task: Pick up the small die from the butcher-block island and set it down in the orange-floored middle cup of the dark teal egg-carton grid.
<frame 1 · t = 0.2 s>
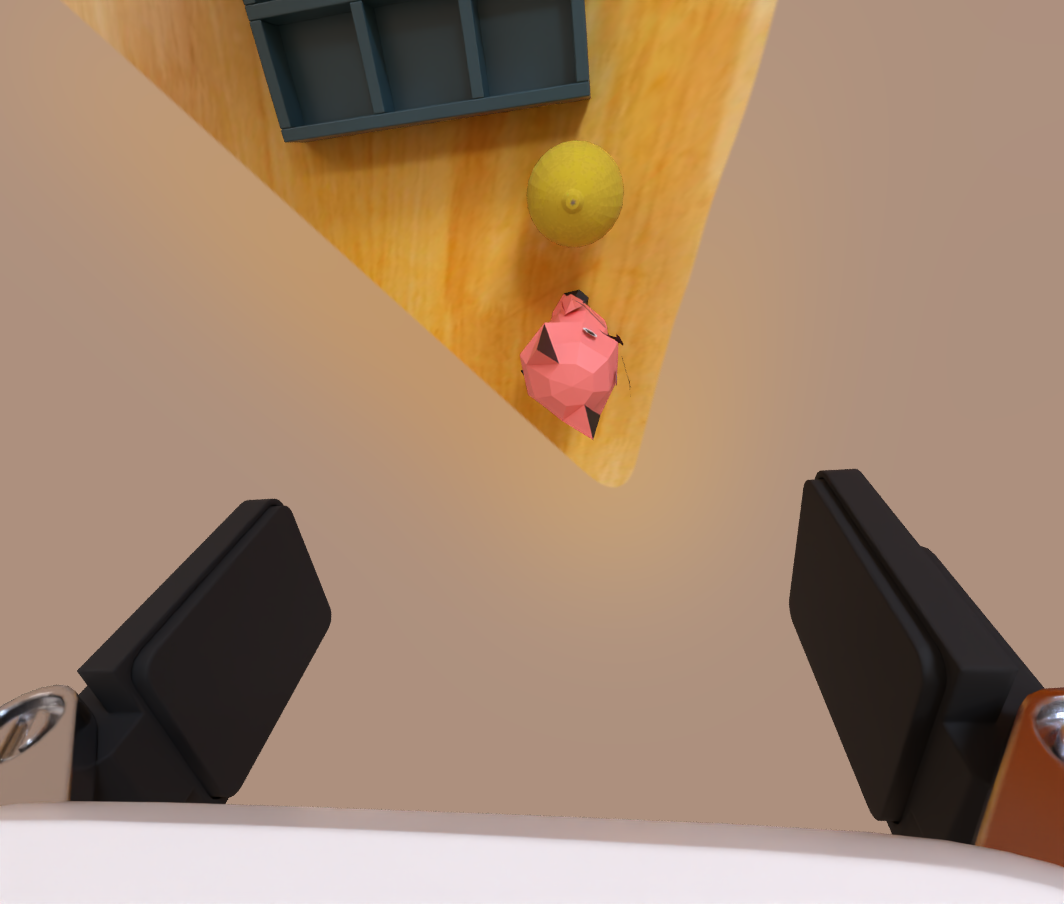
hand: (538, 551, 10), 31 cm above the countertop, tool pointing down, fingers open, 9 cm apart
lemon: (577, 189, 36), on the countertop
cat figurine: (573, 328, 40), on the countertop
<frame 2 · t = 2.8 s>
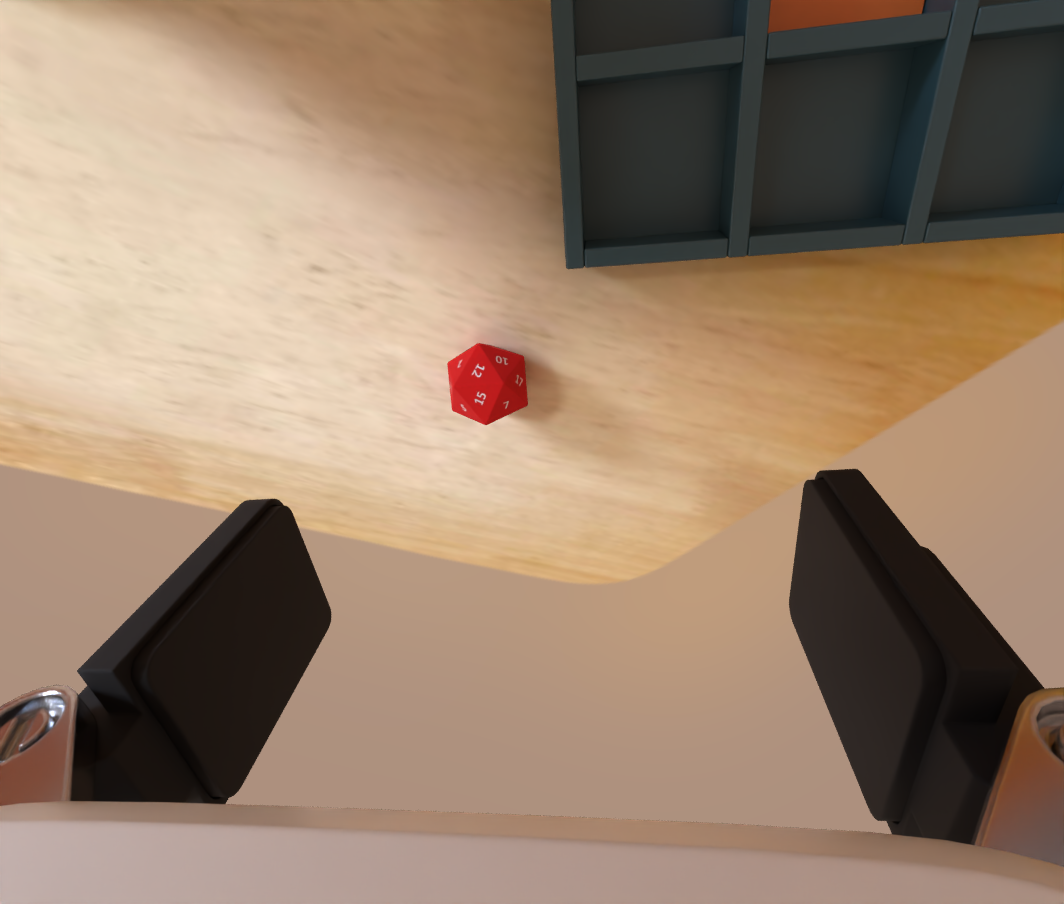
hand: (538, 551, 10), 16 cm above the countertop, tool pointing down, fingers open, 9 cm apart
die: (493, 368, 26), on the countertop
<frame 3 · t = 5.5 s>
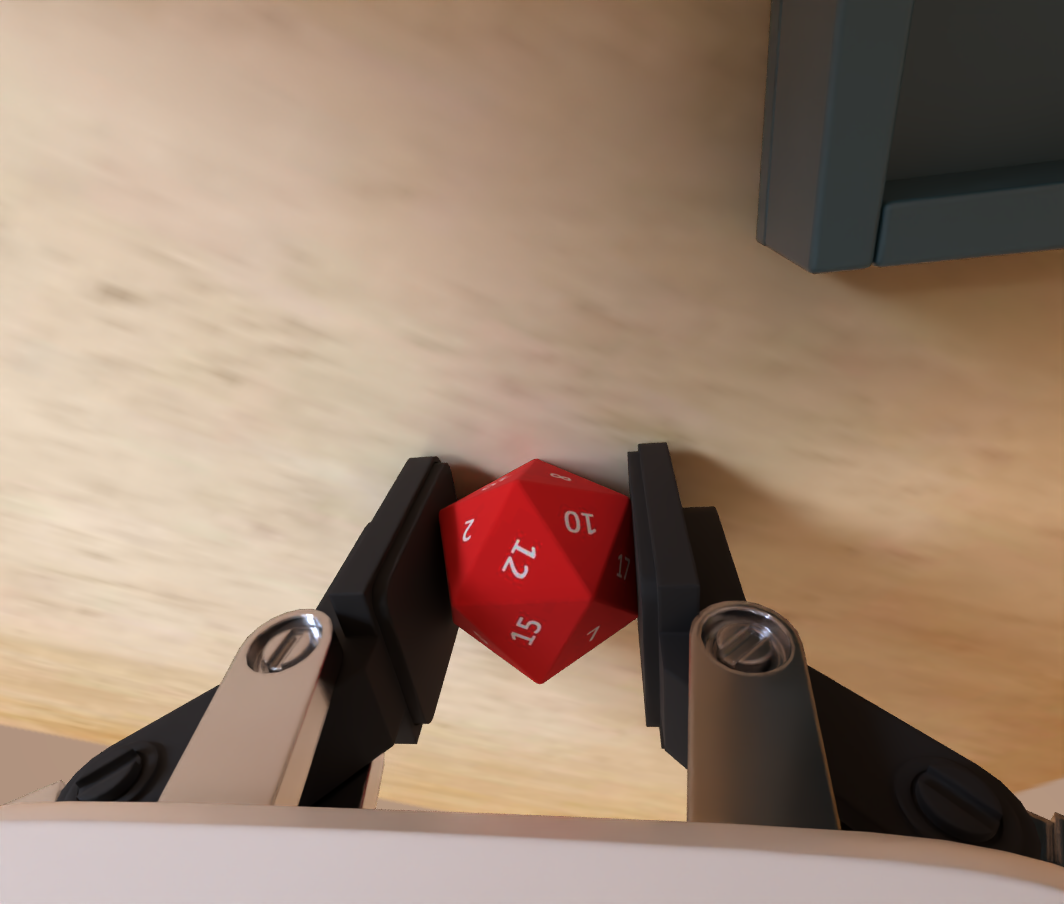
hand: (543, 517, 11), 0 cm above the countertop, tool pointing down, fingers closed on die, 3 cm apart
die: (545, 504, 12), on the countertop, touching gripper
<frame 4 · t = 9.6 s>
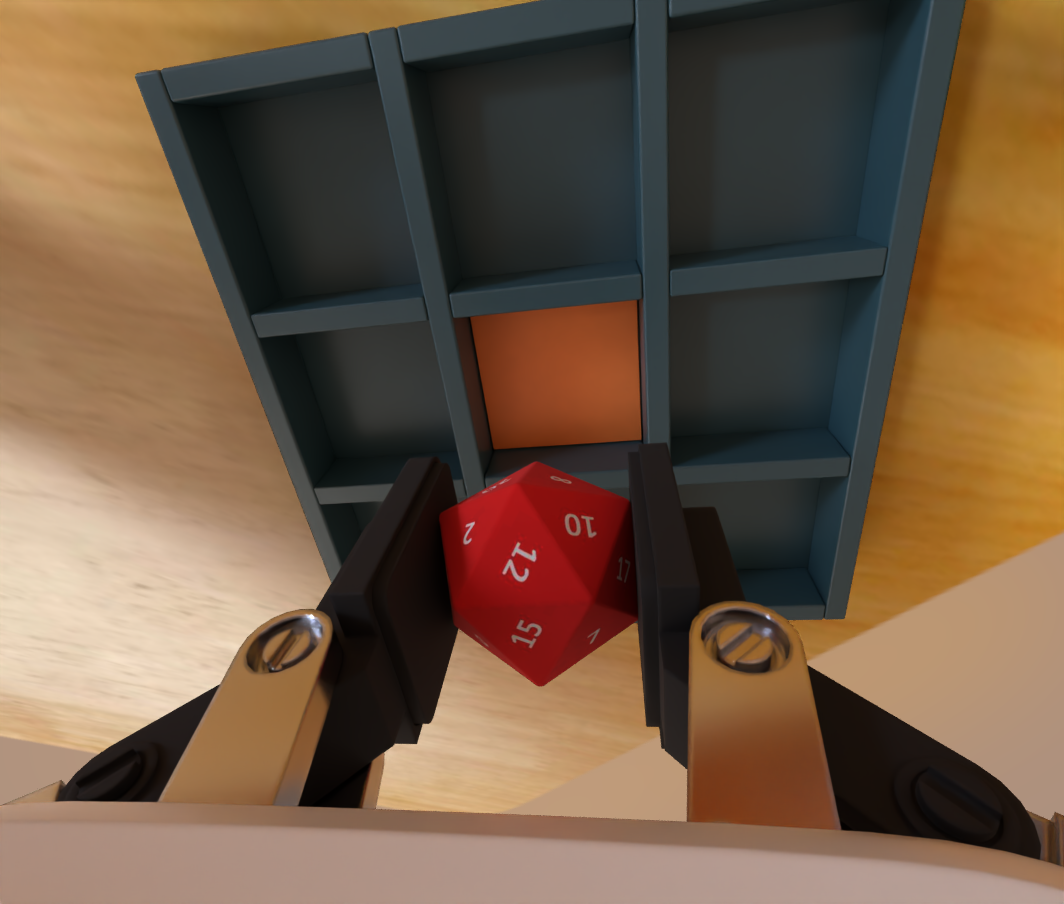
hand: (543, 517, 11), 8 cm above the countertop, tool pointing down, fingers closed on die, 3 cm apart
grid: (559, 367, 18), on the countertop
die: (546, 507, 12), point 8 cm above the countertop, touching gripper
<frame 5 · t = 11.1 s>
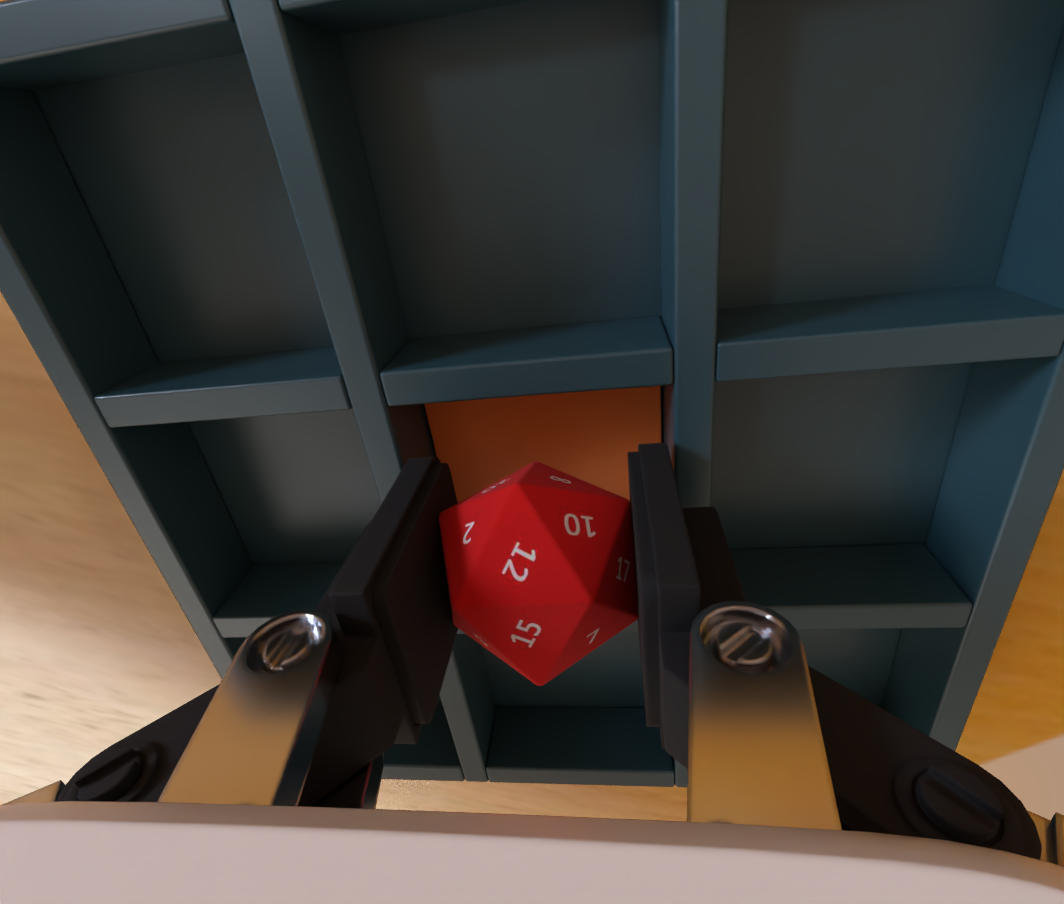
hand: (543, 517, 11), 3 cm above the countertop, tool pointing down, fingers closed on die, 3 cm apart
grid: (550, 455, 13), on the countertop
die: (545, 506, 12), point 2 cm above the countertop, touching gripper
when the fingers open (3 cm above the countertop, at t = 14.2 s): die drops 2 cm, resting on grid.
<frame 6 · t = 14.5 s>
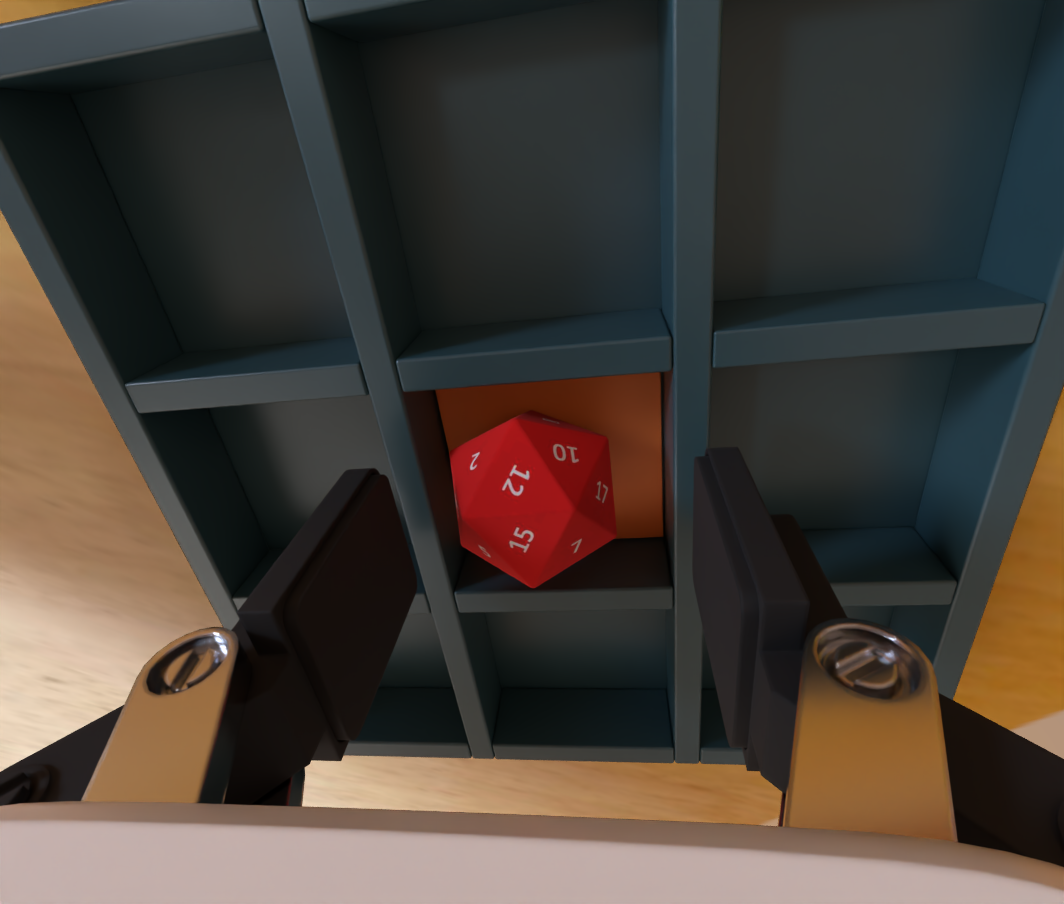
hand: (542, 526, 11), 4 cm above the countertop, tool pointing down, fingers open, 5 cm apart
grid: (555, 442, 14), on the countertop
die: (539, 452, 14), point 1 cm above the countertop, touching grid
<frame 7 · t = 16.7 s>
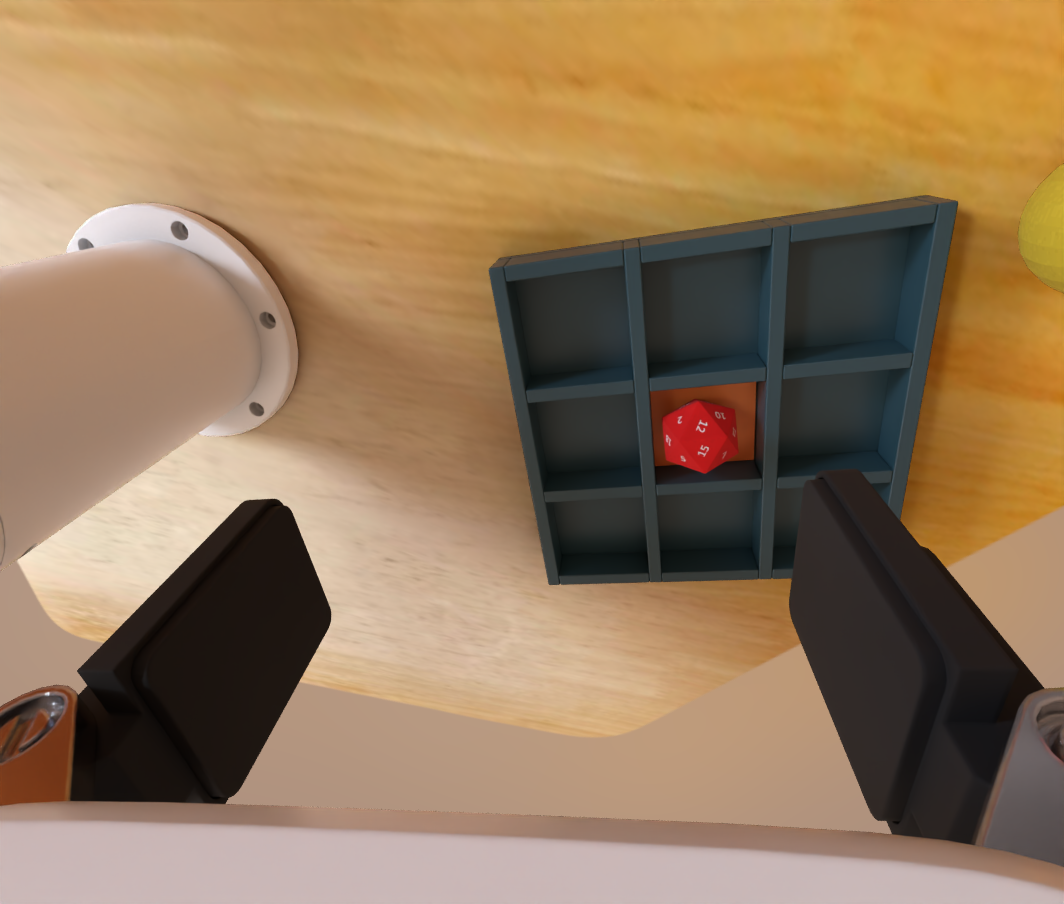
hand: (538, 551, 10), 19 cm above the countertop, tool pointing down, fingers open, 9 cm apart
lemon: (1051, 206, 23), on the countertop
grid: (701, 414, 29), on the countertop
die: (695, 418, 29), point 1 cm above the countertop, touching grid
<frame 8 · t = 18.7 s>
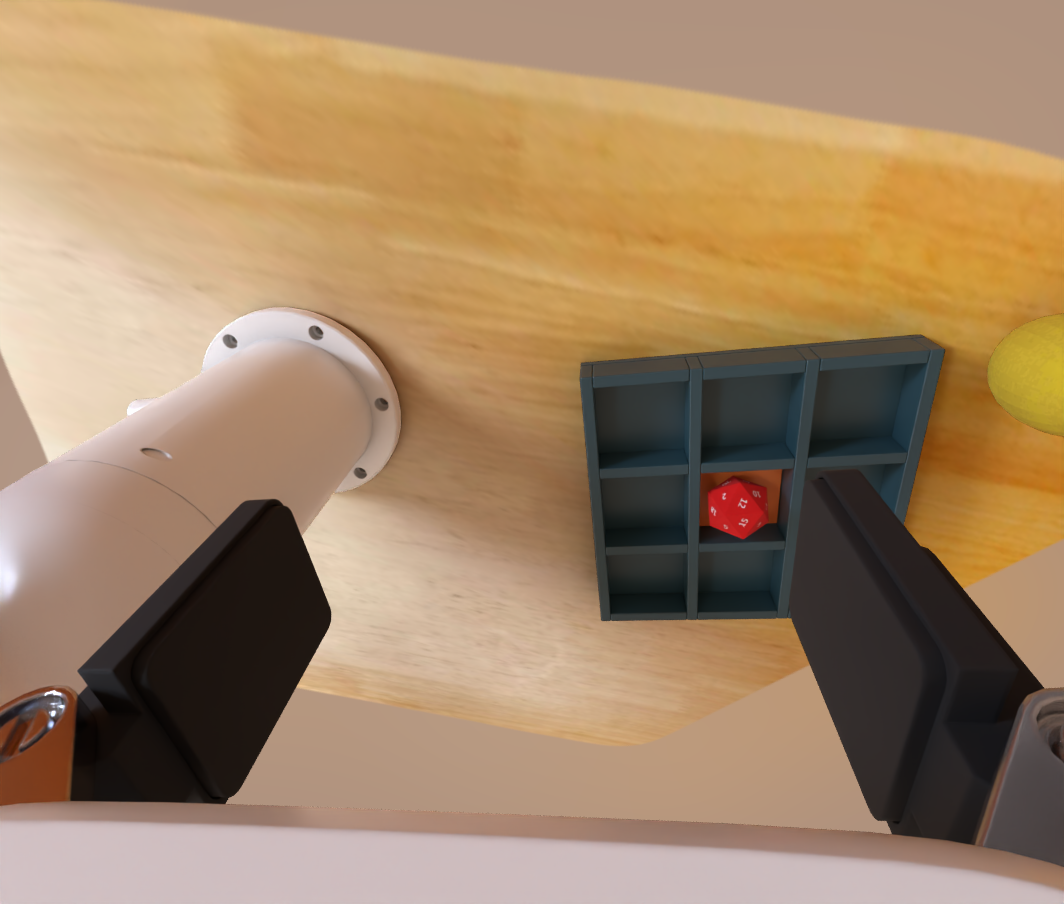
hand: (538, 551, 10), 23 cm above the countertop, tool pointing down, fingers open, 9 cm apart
lemon: (1011, 346, 30), on the countertop
grid: (735, 486, 36), on the countertop
die: (731, 490, 35), point 1 cm above the countertop, touching grid
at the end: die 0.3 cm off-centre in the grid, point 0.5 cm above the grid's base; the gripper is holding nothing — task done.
